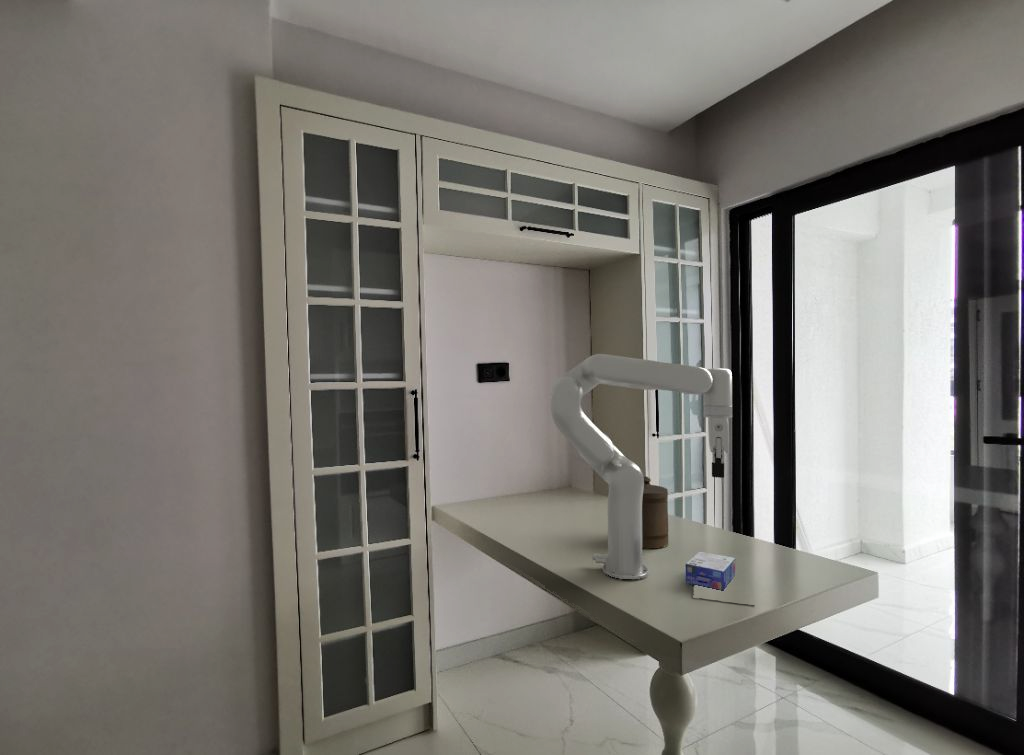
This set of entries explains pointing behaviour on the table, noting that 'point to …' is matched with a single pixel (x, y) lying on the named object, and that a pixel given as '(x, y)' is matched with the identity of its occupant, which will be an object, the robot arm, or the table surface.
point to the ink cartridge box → (710, 570)
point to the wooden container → (654, 515)
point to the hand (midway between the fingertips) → (717, 476)
